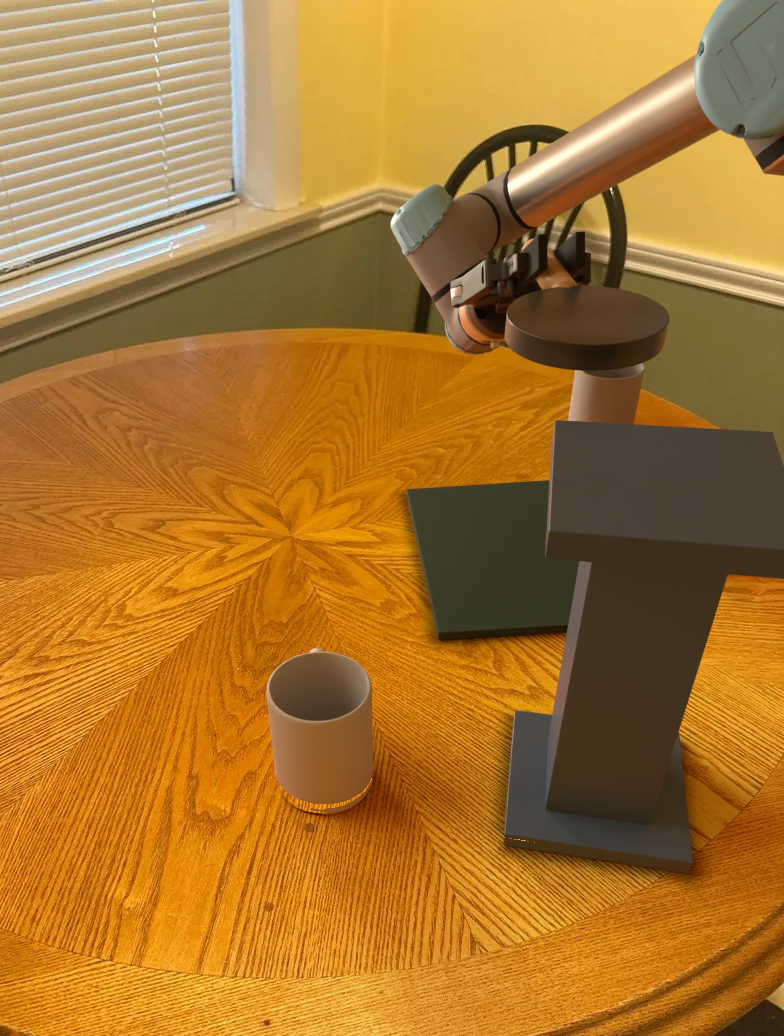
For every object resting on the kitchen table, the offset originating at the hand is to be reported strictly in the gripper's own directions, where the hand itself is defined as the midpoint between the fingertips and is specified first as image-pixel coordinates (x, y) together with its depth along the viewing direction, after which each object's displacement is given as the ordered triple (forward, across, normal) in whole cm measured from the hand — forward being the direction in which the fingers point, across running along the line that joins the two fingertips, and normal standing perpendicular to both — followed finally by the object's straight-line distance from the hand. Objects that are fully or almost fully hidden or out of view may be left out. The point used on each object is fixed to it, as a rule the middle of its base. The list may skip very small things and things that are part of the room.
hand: (561, 250), depth 73 cm
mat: (-23, +1, -27) cm, 36 cm away
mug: (+3, +22, -42) cm, 48 cm away
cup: (-45, -18, -14) cm, 51 cm away
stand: (+7, 0, -44) cm, 45 cm away
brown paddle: (0, 0, -5) cm, 5 cm away
